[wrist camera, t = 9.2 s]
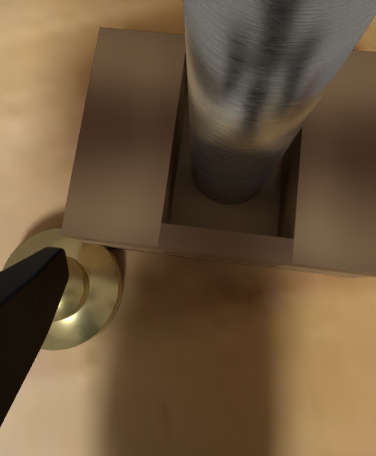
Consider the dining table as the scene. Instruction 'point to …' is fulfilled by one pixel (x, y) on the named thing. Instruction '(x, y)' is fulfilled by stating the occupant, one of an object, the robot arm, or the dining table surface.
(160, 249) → the slot block
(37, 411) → the dining table surface
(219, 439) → the dining table surface
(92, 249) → the brass domed disc
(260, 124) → the pin
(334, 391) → the dining table surface
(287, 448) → the dining table surface
